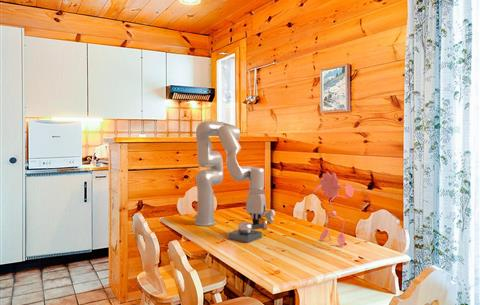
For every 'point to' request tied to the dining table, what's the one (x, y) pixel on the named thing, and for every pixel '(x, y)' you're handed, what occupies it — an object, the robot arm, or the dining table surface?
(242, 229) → the ball-ended lever handle
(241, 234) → the base
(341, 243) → the figurine
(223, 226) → the dining table surface
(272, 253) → the dining table surface
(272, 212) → the wrench
